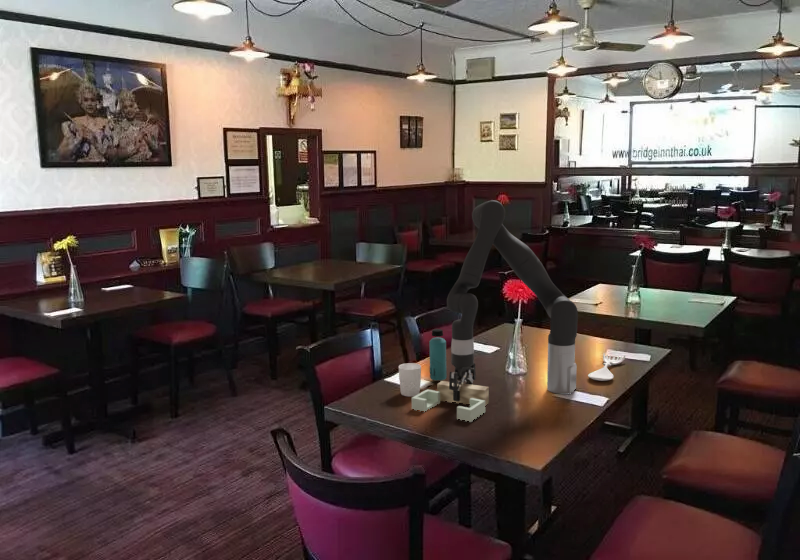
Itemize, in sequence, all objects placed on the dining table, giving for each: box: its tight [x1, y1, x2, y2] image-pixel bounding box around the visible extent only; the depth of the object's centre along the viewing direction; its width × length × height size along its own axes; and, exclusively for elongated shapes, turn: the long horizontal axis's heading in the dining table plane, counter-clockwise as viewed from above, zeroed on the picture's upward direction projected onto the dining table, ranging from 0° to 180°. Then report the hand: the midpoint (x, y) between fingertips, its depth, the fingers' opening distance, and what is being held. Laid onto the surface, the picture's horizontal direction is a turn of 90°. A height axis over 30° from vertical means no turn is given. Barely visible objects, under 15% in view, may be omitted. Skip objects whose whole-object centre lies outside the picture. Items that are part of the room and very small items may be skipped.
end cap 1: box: [411, 389, 441, 413], centre depth 222 cm, size 5×10×4 cm, turn 146°
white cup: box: [398, 362, 422, 397], centre depth 234 cm, size 8×8×10 cm
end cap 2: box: [456, 398, 486, 423], centre depth 212 cm, size 5×10×4 cm, turn 146°
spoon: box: [587, 352, 626, 382], centre depth 255 cm, size 9×32×4 cm, turn 152°
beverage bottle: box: [428, 328, 448, 381], centre depth 245 cm, size 6×7×20 cm
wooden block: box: [436, 380, 490, 407], centre depth 225 cm, size 17×4×6 cm, turn 64°
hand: (462, 397), depth 225 cm, fingers open, 8 cm apart
